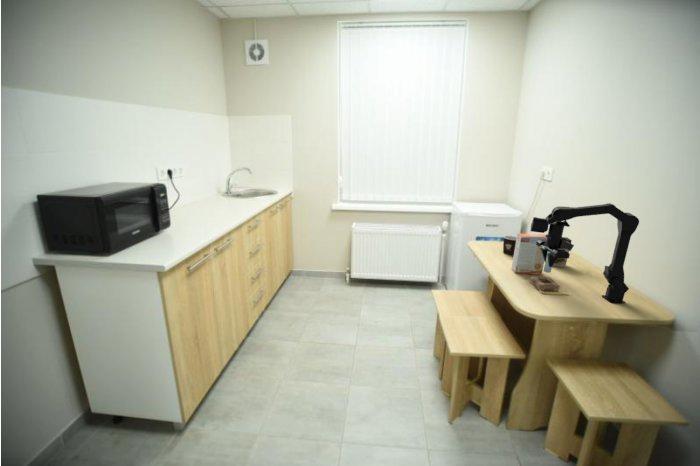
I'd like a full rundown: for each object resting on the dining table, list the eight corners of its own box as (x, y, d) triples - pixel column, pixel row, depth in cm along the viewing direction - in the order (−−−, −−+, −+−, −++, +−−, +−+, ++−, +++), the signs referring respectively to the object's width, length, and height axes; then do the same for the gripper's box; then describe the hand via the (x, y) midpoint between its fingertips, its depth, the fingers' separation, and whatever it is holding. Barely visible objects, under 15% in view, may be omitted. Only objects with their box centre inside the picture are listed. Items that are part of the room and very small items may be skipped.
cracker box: (536, 270, 183) (544, 233, 177) (542, 274, 177) (549, 237, 171) (510, 269, 184) (517, 232, 178) (514, 273, 178) (521, 236, 172)
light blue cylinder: (552, 272, 158) (556, 252, 155) (545, 272, 159) (549, 252, 156) (548, 270, 161) (552, 250, 158) (542, 270, 161) (546, 250, 158)
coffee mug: (498, 251, 210) (500, 236, 208) (507, 250, 214) (510, 235, 211) (513, 258, 200) (516, 242, 197) (523, 256, 204) (526, 240, 201)
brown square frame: (558, 292, 158) (559, 285, 157) (538, 291, 158) (540, 284, 157) (548, 283, 166) (549, 277, 165) (529, 283, 167) (531, 276, 166)
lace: (568, 294, 155) (568, 293, 155) (541, 293, 156) (541, 292, 156) (563, 290, 159) (564, 289, 159) (537, 289, 160) (537, 288, 160)
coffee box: (548, 265, 190) (553, 238, 185) (544, 261, 196) (550, 235, 191) (565, 267, 188) (572, 240, 183) (561, 263, 194) (567, 236, 189)
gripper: (585, 241, 145) (577, 274, 150) (561, 229, 163) (555, 259, 168) (559, 240, 146) (552, 273, 150) (538, 228, 164) (532, 258, 168)
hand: (548, 265), depth 159 cm, fingers closed on light blue cylinder, 3 cm apart
